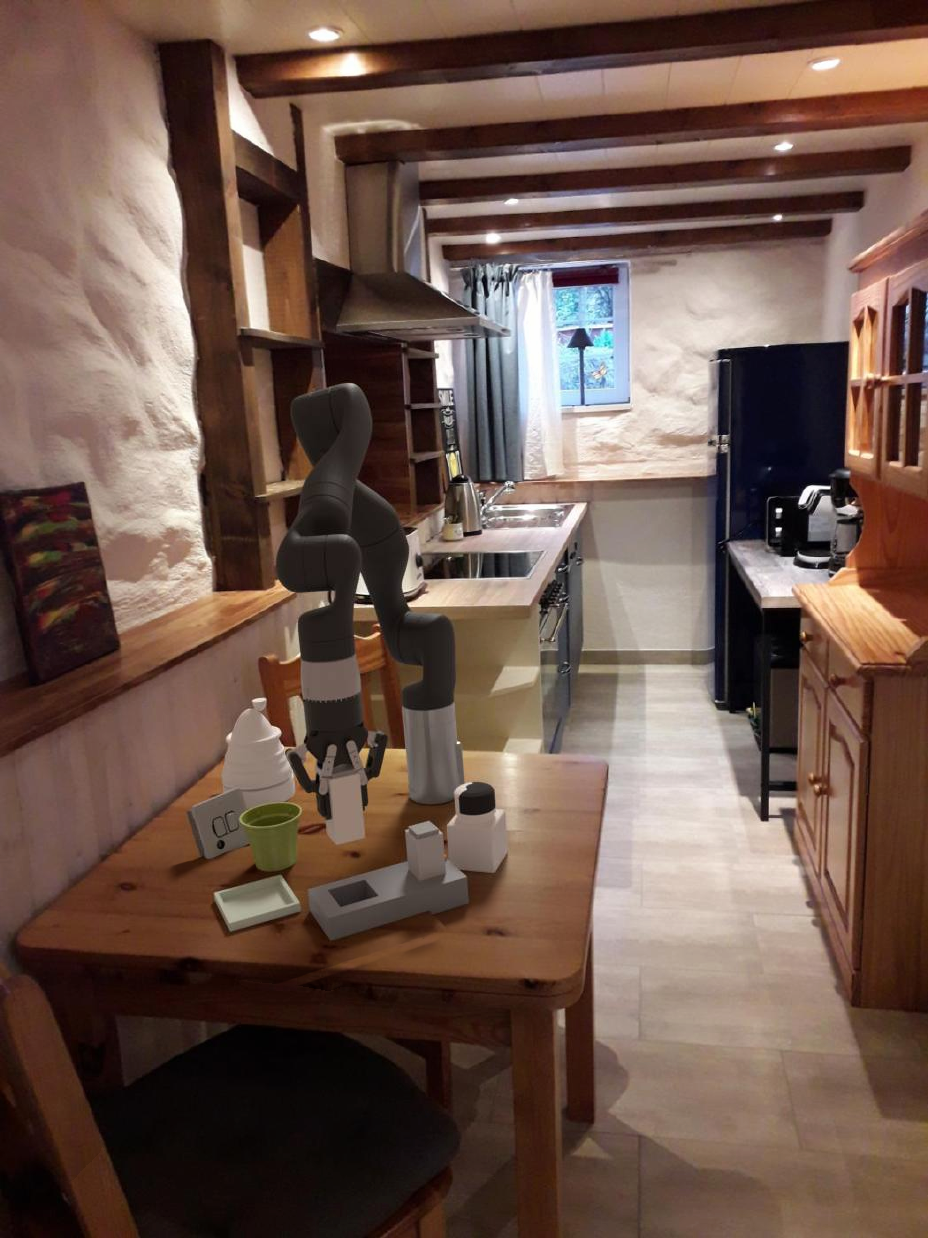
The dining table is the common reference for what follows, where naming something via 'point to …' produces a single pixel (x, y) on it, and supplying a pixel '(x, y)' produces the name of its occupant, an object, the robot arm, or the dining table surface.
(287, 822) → the plant pot
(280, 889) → the tray
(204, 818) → the electrical switch
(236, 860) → the dining table surface
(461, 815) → the medicine bottle
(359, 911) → the grey peg socket block
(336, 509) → the robot arm
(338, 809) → the plug
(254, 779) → the honey pot
